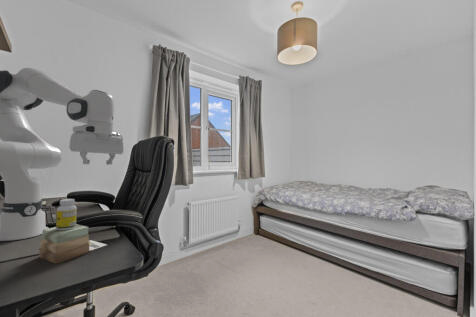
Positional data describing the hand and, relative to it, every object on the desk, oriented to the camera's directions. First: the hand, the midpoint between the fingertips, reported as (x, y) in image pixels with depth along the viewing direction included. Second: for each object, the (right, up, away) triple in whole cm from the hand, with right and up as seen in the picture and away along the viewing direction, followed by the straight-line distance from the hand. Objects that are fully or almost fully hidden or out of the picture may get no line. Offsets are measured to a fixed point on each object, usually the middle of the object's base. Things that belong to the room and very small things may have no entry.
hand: (98, 164), depth 89 cm
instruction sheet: (0, -31, -5) cm, 31 cm away
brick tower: (-3, -31, -14) cm, 34 cm away
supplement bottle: (-2, -22, -14) cm, 26 cm away
